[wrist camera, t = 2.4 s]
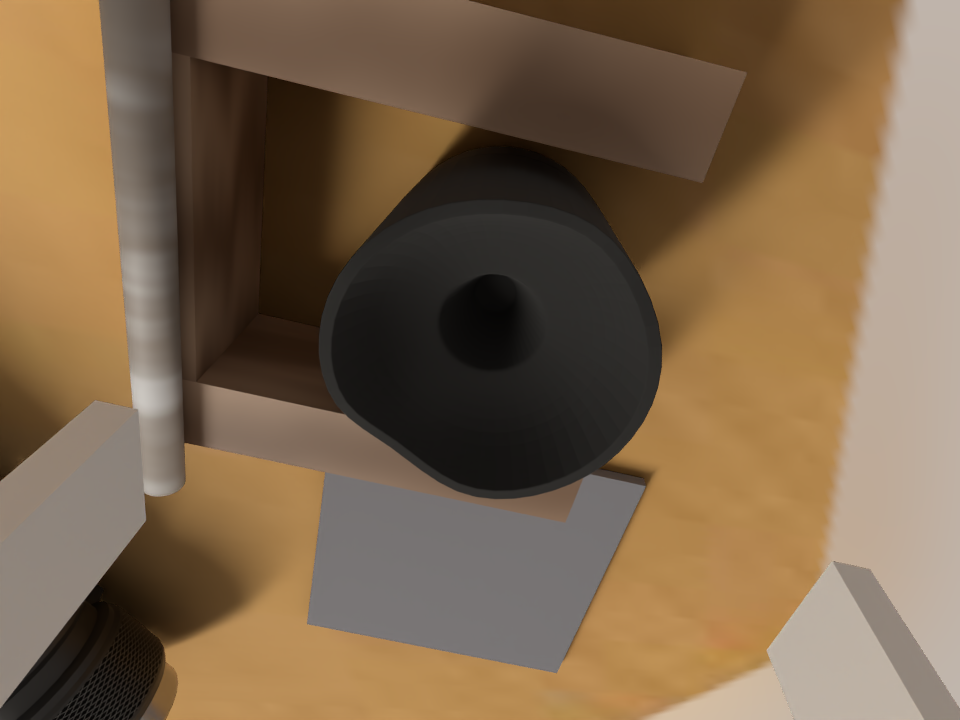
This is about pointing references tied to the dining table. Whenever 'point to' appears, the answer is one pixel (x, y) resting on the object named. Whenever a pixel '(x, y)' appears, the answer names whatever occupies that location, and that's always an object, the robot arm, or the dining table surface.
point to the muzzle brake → (97, 671)
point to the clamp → (240, 180)
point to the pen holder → (494, 329)
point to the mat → (464, 568)
